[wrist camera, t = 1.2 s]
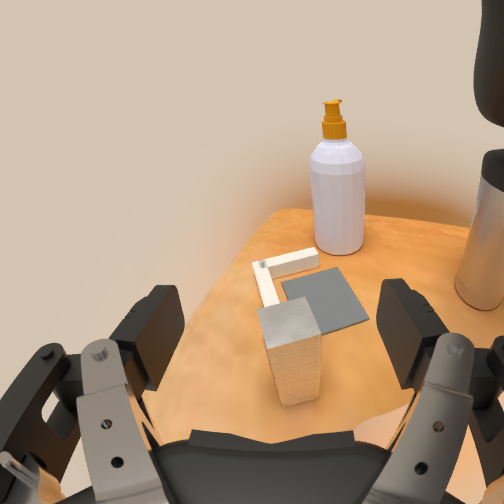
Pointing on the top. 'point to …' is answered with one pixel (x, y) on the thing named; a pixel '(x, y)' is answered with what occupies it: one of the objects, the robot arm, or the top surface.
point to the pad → (327, 299)
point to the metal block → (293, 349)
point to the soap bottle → (337, 187)
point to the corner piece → (281, 271)
